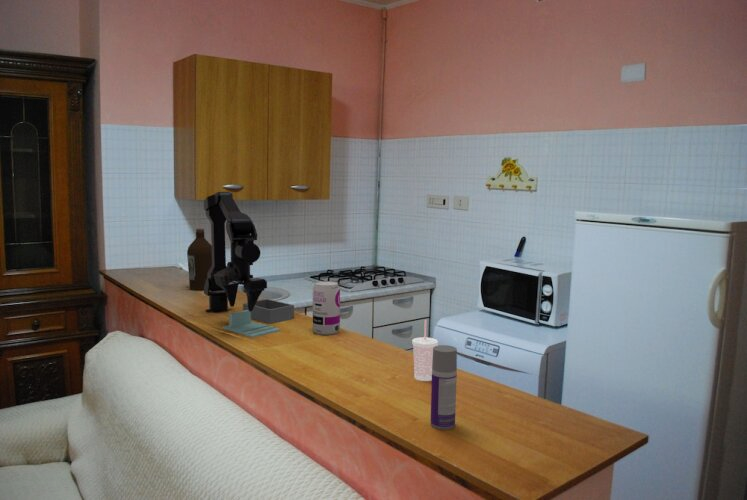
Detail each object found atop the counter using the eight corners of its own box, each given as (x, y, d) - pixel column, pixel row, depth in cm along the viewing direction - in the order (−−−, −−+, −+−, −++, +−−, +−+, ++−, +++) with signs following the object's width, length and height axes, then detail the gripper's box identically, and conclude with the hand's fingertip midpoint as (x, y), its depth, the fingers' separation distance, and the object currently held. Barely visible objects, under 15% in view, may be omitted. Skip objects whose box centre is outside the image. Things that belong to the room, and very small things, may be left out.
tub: (243, 318, 192) (242, 303, 191) (267, 313, 199) (266, 298, 198) (270, 325, 183) (270, 310, 182) (294, 320, 190) (294, 305, 189)
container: (428, 419, 113) (430, 345, 111) (452, 419, 113) (454, 344, 111) (432, 430, 108) (435, 352, 106) (457, 429, 109) (460, 352, 107)
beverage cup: (406, 378, 136) (407, 320, 134) (419, 371, 141) (420, 315, 139) (429, 384, 132) (430, 324, 131) (441, 376, 138) (443, 319, 136)
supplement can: (341, 328, 180) (341, 281, 178) (337, 335, 172) (337, 286, 170) (315, 327, 181) (315, 280, 179) (310, 334, 172) (310, 285, 171)
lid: (222, 331, 176) (222, 314, 175) (250, 325, 184) (250, 308, 183) (252, 340, 167) (252, 322, 166) (280, 333, 175) (280, 315, 174)
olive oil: (209, 285, 248) (208, 227, 245) (218, 289, 240) (217, 229, 236) (184, 287, 242) (183, 228, 239) (193, 292, 233) (191, 230, 230)
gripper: (199, 258, 176) (201, 308, 177) (236, 264, 163) (237, 318, 165) (230, 254, 184) (231, 302, 186) (268, 260, 172) (268, 312, 174)
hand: (241, 308), depth 177 cm, fingers open, 9 cm apart
